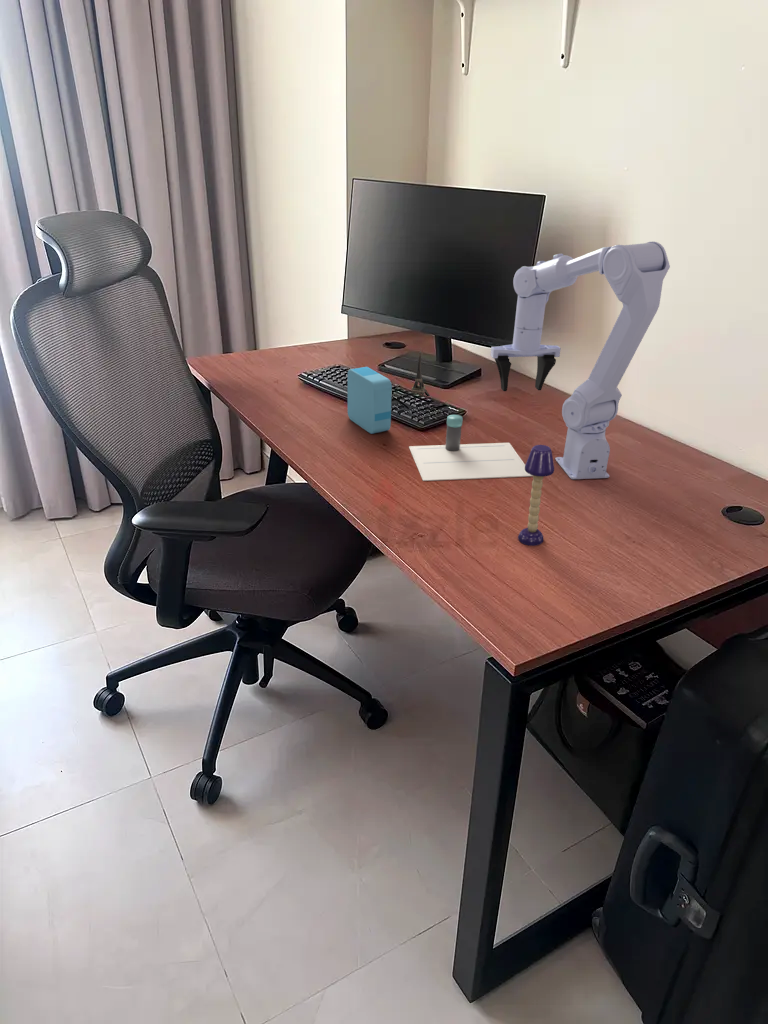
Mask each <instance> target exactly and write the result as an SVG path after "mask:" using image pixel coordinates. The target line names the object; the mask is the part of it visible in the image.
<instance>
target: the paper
mask: <svg viewBox="0 0 768 1024" xmlns="http://www.w3.org/2000/svg"><path fill="white" fill-rule="evenodd" d="M445 447H446V444H441V445H439V444H437V445H436V444H435V445H433V444H432V445H413V446H412V445H410V446H408V449H409V450H410V453H411V456H412V458H413V461H414V462H415V465H416V468H417V470H418V472H419V475H420V478H421V479H422V482H427V481H428V482H430V481H431V482H432V481H434V482H435V481H450V480H451V481H453V480H476V479H478V480H479V479H498V478H499V479H503V478H523V477H533V475H531V474H528V473H527V472H526V471H525V465H526V463H524V461H523V460H522V458H521V456H520V455H519V454H518V453H517V452H516V450H515V448H514V447H513V445H512V444H511V443H510V442H495V443H494V442H491V443H467V444H466V443H465V444H462V443H460V449H459V450H458V451H454V452H453V451H448V450H446V449H445Z"/></svg>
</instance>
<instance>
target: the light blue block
mask: <svg viewBox="0 0 768 1024" xmlns="http://www.w3.org/2000/svg"><path fill="white" fill-rule="evenodd" d="M392 386H393V385H392V382H391V380H390V378H388V377H386V376H385V375H383V374H381V373H379V372H377V371H375V370H374V369H372V368H370V367H369V366H363V367H357V368H350V369H349V370H348V371H347V415H348V418H349V420H350V421H351V422H353V423H354V424H356V425H357V426H359V427H360V428H362V429H363V430H364V431H365V432H368V433H369V434H377V433H382V432H387V431H389V430H390V429H391V425H392V424H391V422H392V391H393V390H392V388H393V387H392Z"/></svg>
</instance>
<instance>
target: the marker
mask: <svg viewBox="0 0 768 1024" xmlns="http://www.w3.org/2000/svg"><path fill="white" fill-rule="evenodd" d="M446 417H447V418H446V432H445V433H446V434H445V435H446V436H445V445H446V447H445V449H446V450H448V451H453V452H454V451H458V450H459V449H460V444H461V437H462V426H463V419H464V418H463V416H462V415H459V414H450V415H447V416H446Z"/></svg>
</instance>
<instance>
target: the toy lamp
mask: <svg viewBox="0 0 768 1024" xmlns="http://www.w3.org/2000/svg"><path fill="white" fill-rule="evenodd" d="M525 471H526V472H527V473H528V474H531V475H533V476H532V479H533V480H532V481H531V489H530V490H531V491H530V496H531V497H530V498H529V504H530V506H529V508H528V512H529V513H528V519H527V521H528V522H527V527H526V528H523V529H522V530H520V532H519V534H518V535H517V540H518V541H519V542H520V543H521V544H523V545H526V546H530V547H531V546H532V547H536V546H539V545H541V544H543V543H544V539H545V538H544V535H543V532H541V530H539V529H538V528H539V524H538V522H539V519H540V515H539V514H540V509H541V508H540V505H541V496H542V493H543V492H542V488H543V484H544V483H543V481H544V480H543V479H544V478H545V477H549V476H552V475H553V474H554V473H555V464H554V458H553V451H552V449H551V447H550V446H549V445H544V444H536V445H534V446H532V448H531V450H530V452H529V455H528V456H527V460H526V462H525Z"/></svg>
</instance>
